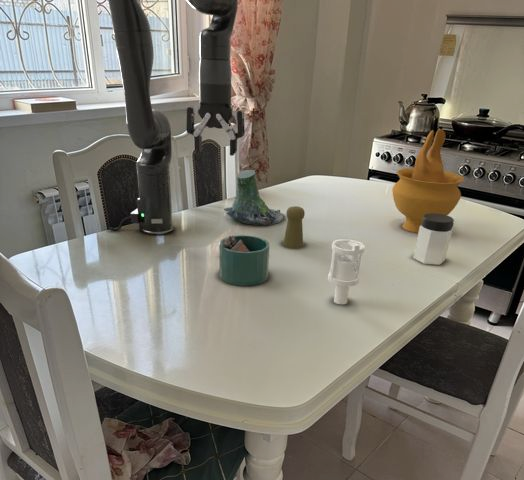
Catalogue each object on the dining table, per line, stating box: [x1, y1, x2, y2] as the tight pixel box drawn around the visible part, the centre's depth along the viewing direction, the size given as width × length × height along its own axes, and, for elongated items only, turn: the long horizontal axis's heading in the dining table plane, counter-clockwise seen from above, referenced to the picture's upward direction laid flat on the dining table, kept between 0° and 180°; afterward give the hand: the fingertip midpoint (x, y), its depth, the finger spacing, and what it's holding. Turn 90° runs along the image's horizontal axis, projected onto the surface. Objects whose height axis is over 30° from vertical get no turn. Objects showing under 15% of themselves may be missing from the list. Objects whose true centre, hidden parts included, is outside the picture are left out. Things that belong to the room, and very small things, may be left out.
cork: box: [282, 205, 306, 249], centre depth 145 cm, size 6×6×11 cm
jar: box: [412, 213, 455, 266], centre depth 139 cm, size 9×8×12 cm
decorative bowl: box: [391, 128, 465, 234], centre depth 158 cm, size 21×21×30 cm
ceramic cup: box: [218, 234, 270, 287], centre depth 125 cm, size 12×12×8 cm
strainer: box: [327, 238, 365, 305], centre depth 113 cm, size 7×7×15 cm
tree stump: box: [223, 169, 284, 226], centre depth 164 cm, size 18×20×18 cm
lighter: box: [222, 235, 250, 252], centre depth 125 cm, size 8×3×10 cm
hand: (215, 153), depth 127 cm, fingers open, 8 cm apart
